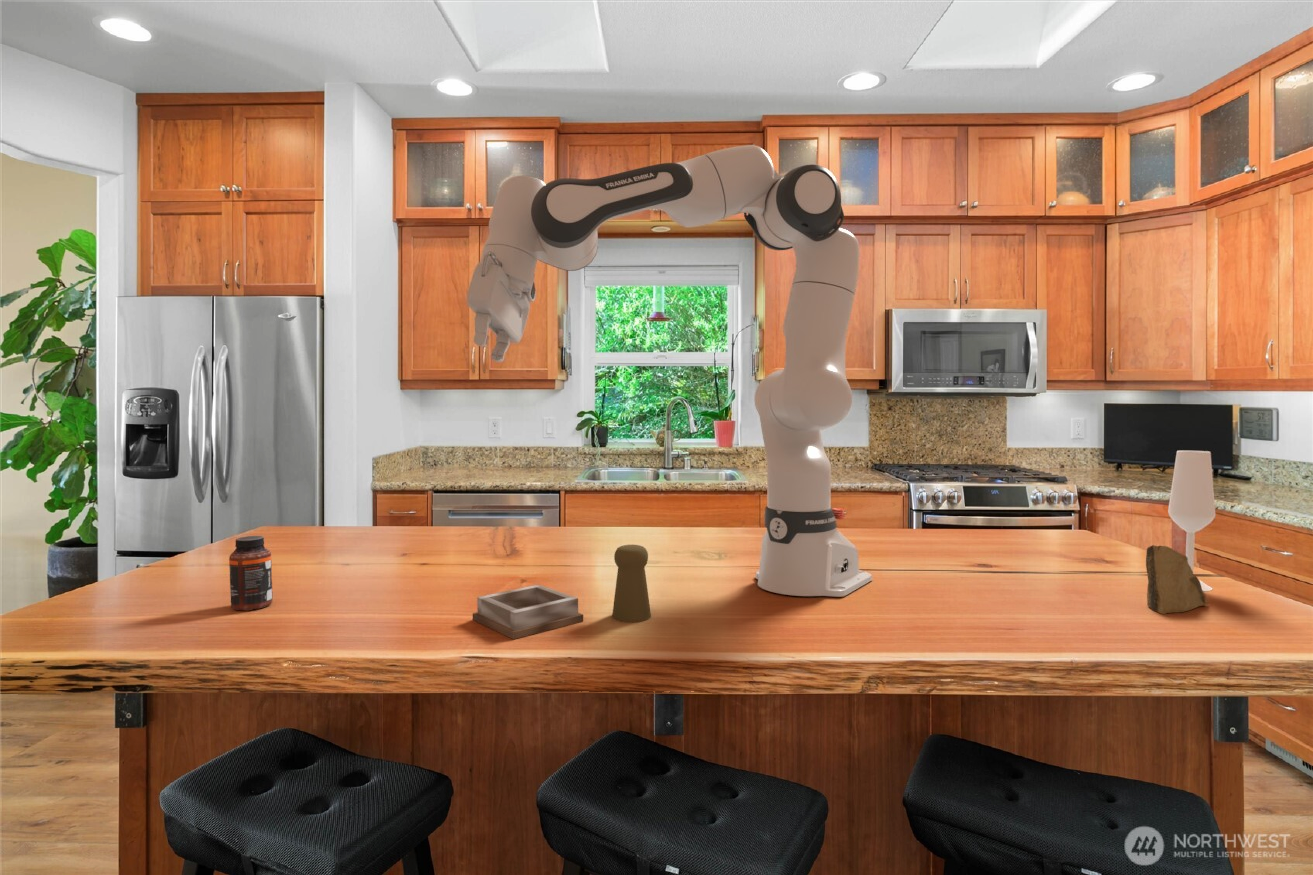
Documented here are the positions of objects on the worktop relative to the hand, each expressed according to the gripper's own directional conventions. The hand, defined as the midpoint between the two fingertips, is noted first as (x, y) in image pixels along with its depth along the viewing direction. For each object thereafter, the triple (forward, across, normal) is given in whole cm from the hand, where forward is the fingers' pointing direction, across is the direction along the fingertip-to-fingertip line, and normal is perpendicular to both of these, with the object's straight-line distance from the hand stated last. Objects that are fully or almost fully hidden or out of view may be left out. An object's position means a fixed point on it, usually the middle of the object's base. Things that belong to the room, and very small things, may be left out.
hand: (488, 353), depth 114 cm
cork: (+37, +3, -30) cm, 48 cm away
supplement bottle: (+47, +5, +31) cm, 57 cm away
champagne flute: (+16, +24, -126) cm, 129 cm away
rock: (+20, +11, -116) cm, 118 cm away
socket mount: (+40, 0, -15) cm, 42 cm away
